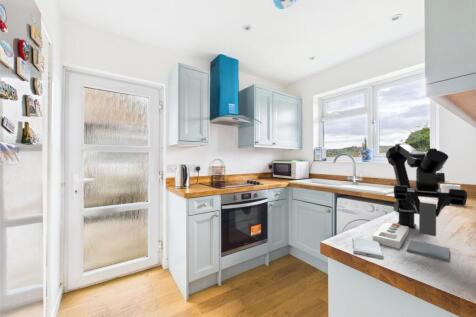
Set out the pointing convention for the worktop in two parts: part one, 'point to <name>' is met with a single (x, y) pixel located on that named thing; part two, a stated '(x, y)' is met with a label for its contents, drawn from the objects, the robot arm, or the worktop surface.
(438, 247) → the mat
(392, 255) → the worktop surface
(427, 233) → the block
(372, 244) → the hard drive
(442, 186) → the foam cup
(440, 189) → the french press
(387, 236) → the power strip
